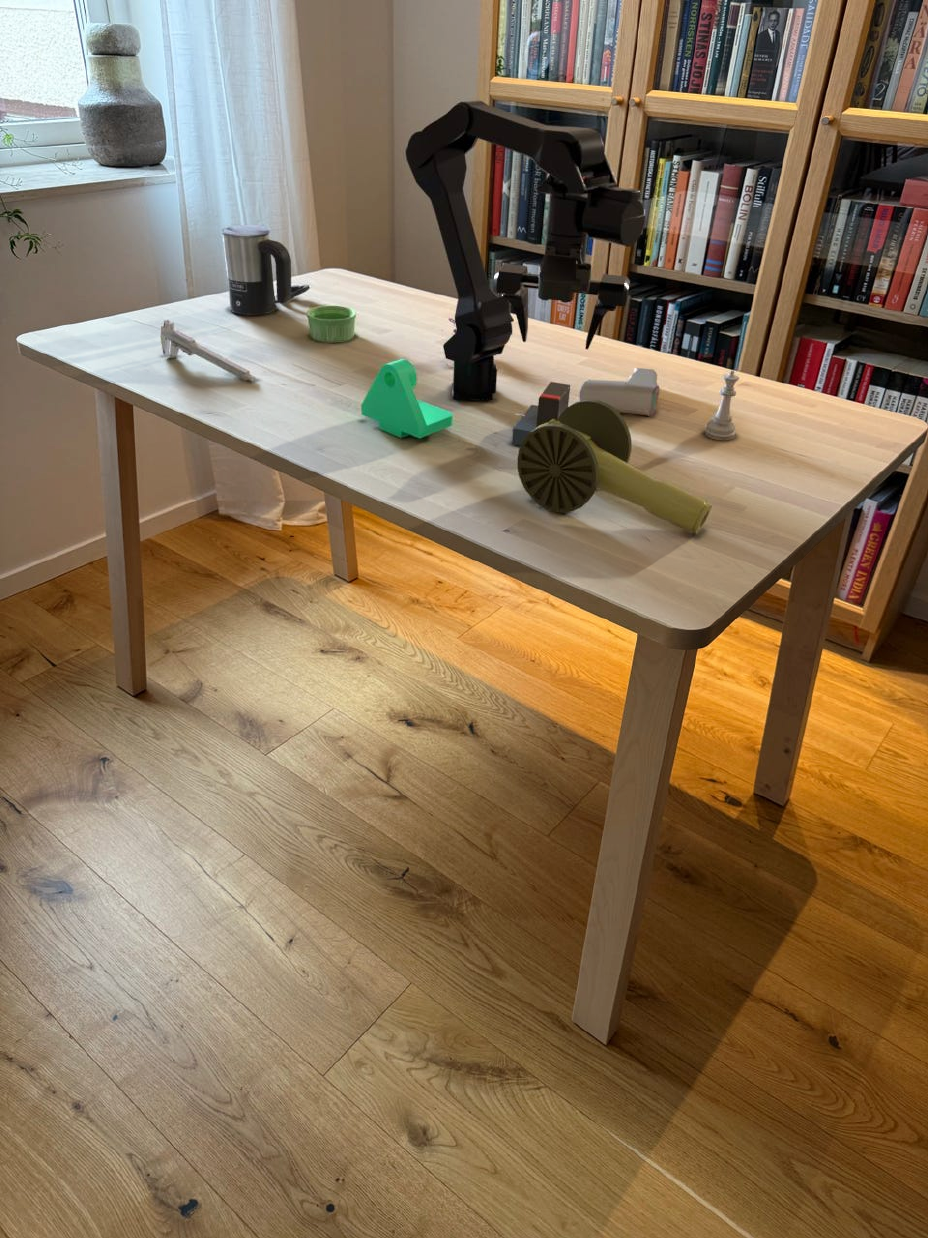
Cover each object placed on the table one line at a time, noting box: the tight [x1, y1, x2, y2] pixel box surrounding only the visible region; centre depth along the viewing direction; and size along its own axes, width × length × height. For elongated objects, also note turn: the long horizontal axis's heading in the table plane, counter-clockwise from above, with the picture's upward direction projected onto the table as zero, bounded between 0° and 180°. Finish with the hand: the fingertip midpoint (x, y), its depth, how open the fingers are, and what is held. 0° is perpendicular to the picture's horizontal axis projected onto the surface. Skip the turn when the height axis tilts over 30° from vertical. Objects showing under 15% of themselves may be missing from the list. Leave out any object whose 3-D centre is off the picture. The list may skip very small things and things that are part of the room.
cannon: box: [516, 399, 713, 535], centre depth 118 cm, size 25×12×11 cm, turn 58°
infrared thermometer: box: [578, 367, 660, 417], centre depth 153 cm, size 5×12×15 cm
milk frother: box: [220, 224, 311, 316], centre depth 184 cm, size 14×16×15 cm
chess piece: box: [704, 370, 740, 441], centre depth 140 cm, size 4×4×10 cm
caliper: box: [160, 319, 256, 382], centre depth 156 cm, size 20×1×6 cm, turn 58°
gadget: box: [536, 381, 571, 427], centre depth 137 cm, size 7×3×5 cm, turn 162°
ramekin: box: [305, 304, 357, 344], centre depth 173 cm, size 9×9×4 cm
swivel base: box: [511, 404, 538, 447], centre depth 139 cm, size 13×11×3 cm
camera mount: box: [360, 358, 454, 439], centre depth 138 cm, size 12×8×10 cm, turn 48°
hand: (555, 344), depth 138 cm, fingers open, 9 cm apart
